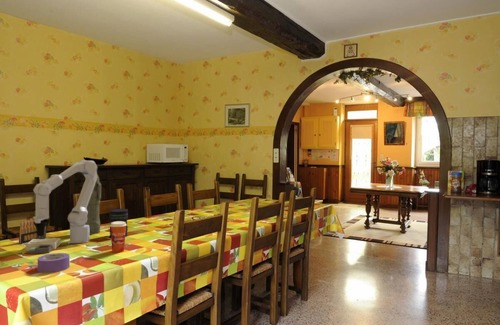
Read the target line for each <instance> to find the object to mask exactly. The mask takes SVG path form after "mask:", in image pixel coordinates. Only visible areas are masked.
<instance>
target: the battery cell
mask: <svg viewBox="0 0 500 325" xmlns="http://www.w3.org/2000/svg"><path fill="white" fill-rule="evenodd" d="M39 239H47V231H46V226H45V231H44V236H39Z"/></svg>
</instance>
